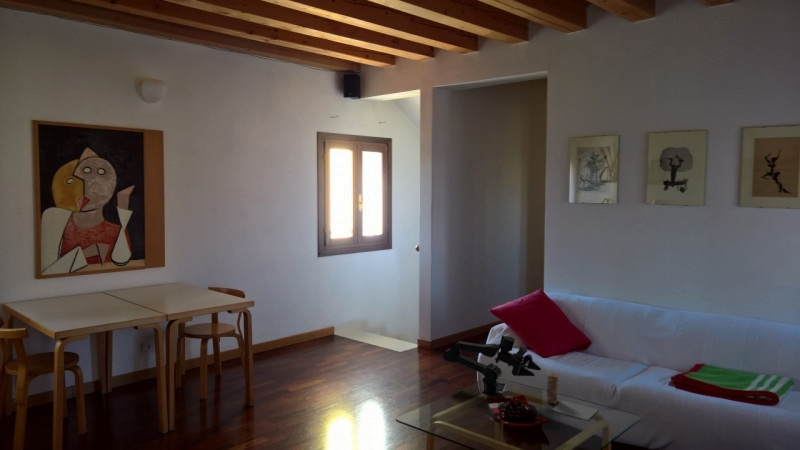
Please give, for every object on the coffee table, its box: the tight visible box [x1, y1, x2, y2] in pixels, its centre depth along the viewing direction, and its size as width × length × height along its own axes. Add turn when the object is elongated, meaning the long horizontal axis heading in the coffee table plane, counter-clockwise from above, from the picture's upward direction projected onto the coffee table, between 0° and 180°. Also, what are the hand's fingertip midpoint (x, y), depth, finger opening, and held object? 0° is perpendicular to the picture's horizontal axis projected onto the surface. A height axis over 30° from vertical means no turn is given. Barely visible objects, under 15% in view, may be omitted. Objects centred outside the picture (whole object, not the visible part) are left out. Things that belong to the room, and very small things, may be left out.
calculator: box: [486, 401, 505, 420], centre depth 284 cm, size 11×4×15 cm
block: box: [546, 372, 559, 405], centre depth 297 cm, size 4×4×14 cm
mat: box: [551, 400, 599, 422], centre depth 288 cm, size 18×14×1 cm
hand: (537, 372), depth 294 cm, fingers open, 9 cm apart
